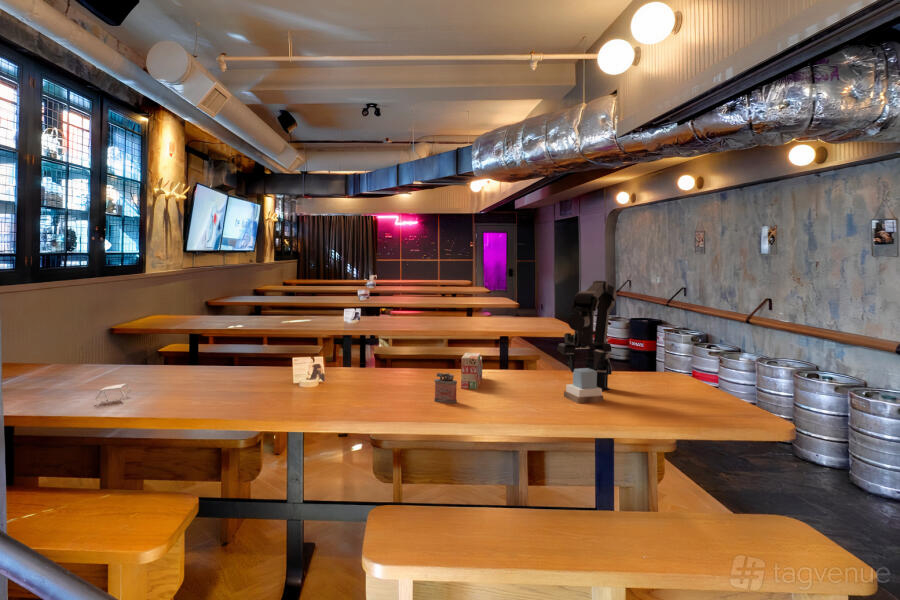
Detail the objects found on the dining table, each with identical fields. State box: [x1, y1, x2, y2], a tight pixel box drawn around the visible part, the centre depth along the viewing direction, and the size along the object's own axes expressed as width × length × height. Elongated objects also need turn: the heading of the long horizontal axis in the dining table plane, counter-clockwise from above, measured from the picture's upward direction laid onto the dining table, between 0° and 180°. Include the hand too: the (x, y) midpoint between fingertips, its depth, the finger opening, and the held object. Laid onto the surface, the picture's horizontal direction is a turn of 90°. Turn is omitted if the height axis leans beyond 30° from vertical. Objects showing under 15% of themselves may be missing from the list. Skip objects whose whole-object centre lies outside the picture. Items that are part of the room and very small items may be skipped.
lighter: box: [433, 372, 458, 404], centre depth 186 cm, size 8×3×10 cm, turn 71°
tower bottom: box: [563, 390, 604, 404], centre depth 192 cm, size 10×10×2 cm
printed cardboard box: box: [460, 352, 483, 390], centre depth 216 cm, size 21×6×12 cm, turn 171°
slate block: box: [572, 367, 597, 389], centre depth 191 cm, size 6×6×6 cm
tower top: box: [565, 383, 603, 397], centre depth 192 cm, size 9×9×2 cm
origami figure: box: [95, 383, 134, 405], centre depth 183 cm, size 12×8×5 cm
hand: (583, 371), depth 191 cm, fingers open, 9 cm apart
